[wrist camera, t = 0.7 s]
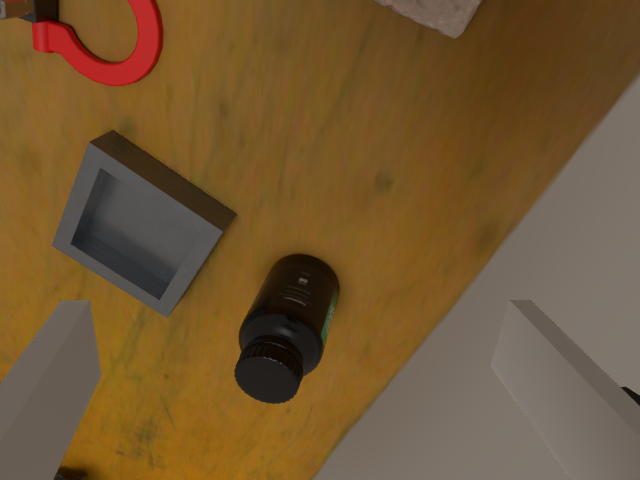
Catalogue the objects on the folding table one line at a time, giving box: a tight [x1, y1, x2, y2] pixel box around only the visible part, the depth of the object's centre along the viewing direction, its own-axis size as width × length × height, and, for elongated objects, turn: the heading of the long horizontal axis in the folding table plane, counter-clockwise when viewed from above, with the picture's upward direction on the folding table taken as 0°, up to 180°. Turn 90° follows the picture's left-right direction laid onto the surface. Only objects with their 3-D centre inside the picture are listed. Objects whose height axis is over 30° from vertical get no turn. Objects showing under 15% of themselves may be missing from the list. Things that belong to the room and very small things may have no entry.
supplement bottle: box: [234, 256, 339, 404], centre depth 37 cm, size 7×7×12 cm
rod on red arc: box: [0, 0, 163, 86], centre depth 28 cm, size 9×14×10 cm
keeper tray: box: [52, 130, 237, 318], centre depth 41 cm, size 12×12×3 cm
